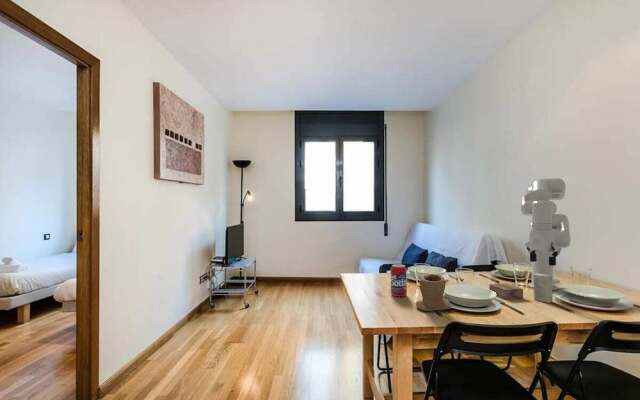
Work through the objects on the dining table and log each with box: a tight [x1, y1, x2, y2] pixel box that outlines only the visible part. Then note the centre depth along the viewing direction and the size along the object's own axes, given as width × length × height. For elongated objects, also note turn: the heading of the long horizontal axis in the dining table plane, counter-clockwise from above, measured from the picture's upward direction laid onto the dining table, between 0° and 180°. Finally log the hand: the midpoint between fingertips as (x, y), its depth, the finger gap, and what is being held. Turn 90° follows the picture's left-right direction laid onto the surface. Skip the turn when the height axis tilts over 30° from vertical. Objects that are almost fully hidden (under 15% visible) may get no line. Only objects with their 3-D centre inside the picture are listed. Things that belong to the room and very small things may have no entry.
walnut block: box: [489, 282, 524, 301], centre depth 149 cm, size 10×10×5 cm
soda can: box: [390, 263, 408, 298], centre depth 152 cm, size 8×8×15 cm
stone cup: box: [415, 273, 452, 312], centre depth 131 cm, size 15×12×15 cm
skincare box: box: [533, 273, 553, 304], centre depth 142 cm, size 6×4×12 cm
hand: (542, 263), depth 142 cm, fingers open, 9 cm apart
